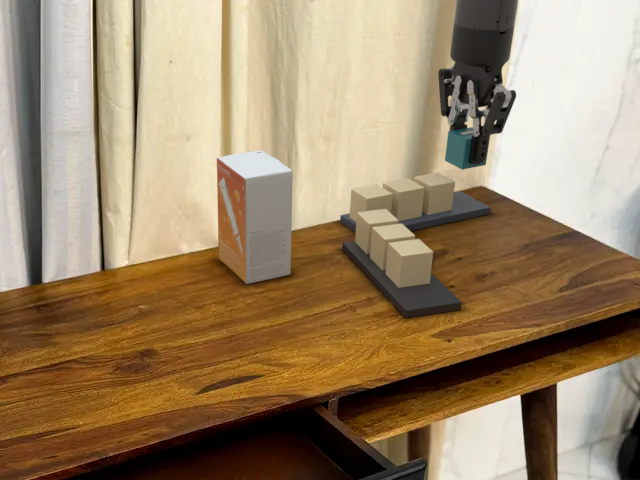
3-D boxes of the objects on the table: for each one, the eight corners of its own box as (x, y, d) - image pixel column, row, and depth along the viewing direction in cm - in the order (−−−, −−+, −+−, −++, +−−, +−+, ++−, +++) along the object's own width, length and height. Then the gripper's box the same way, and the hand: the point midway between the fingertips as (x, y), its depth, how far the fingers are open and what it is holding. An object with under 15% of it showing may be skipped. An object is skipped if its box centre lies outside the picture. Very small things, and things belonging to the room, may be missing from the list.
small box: (217, 260, 124) (215, 156, 116) (262, 251, 127) (263, 148, 119) (245, 285, 119) (244, 177, 111) (291, 275, 121) (294, 169, 113)
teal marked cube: (485, 165, 134) (490, 134, 131) (462, 169, 132) (466, 138, 130) (468, 156, 136) (472, 126, 134) (444, 160, 135) (448, 130, 132)
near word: (342, 249, 127) (344, 211, 124) (392, 243, 129) (395, 205, 126) (405, 318, 112) (409, 277, 109) (461, 310, 114) (466, 269, 111)
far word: (459, 197, 141) (463, 162, 138) (489, 214, 137) (495, 178, 133) (339, 222, 134) (341, 185, 131) (367, 240, 129) (370, 203, 126)
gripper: (426, 11, 127) (413, 146, 137) (496, 35, 117) (475, 179, 127) (474, 6, 129) (457, 139, 140) (545, 28, 120) (521, 170, 130)
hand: (466, 157), depth 134 cm, fingers closed on teal marked cube, 4 cm apart
